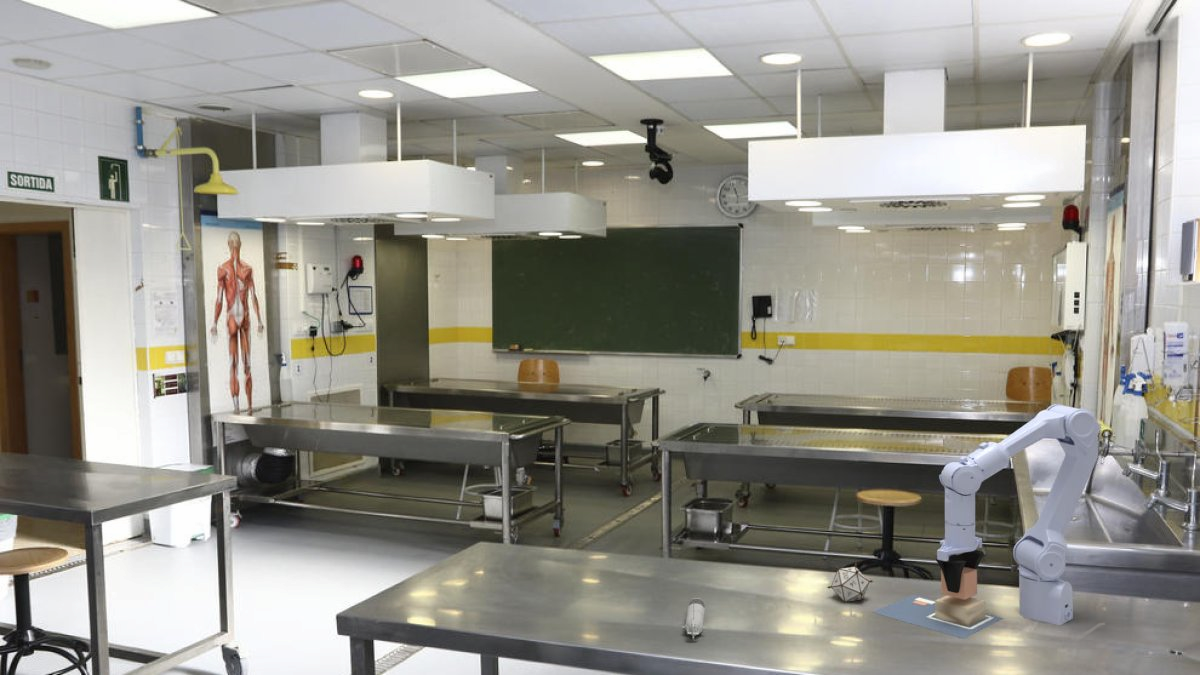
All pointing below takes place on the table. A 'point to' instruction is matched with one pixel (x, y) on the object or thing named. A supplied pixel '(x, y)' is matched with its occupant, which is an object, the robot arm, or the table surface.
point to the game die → (850, 584)
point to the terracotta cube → (962, 584)
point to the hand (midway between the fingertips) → (960, 588)
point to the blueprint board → (931, 617)
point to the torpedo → (695, 617)
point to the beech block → (960, 610)
